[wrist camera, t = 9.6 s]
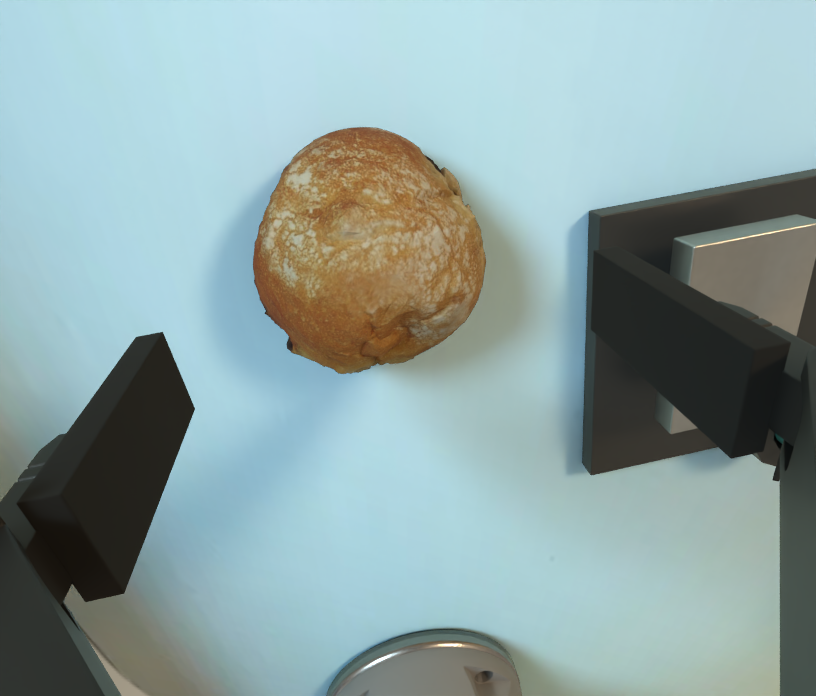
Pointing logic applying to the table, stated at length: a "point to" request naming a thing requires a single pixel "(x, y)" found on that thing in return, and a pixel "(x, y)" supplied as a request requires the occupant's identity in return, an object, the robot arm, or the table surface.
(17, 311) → the table surface
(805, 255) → the silver metal plate
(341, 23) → the table surface
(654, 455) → the scale
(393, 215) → the bread roll
